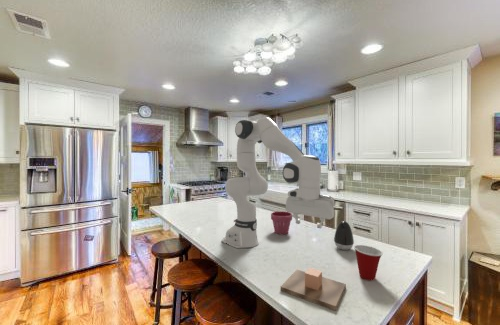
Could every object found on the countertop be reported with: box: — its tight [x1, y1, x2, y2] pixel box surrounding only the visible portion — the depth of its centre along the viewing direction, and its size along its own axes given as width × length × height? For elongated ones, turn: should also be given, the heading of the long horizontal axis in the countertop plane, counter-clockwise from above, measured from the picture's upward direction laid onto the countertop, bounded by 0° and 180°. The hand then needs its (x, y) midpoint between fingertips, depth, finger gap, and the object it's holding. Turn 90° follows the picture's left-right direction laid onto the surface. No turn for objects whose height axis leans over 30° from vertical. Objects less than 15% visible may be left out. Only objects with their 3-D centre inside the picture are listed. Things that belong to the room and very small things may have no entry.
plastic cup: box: [353, 244, 384, 281], centre depth 95 cm, size 11×11×12 cm
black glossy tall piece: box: [333, 220, 355, 251], centre depth 126 cm, size 10×10×15 cm
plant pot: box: [270, 210, 293, 235], centre depth 153 cm, size 14×14×13 cm
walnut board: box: [280, 269, 347, 312], centre depth 86 cm, size 20×16×2 cm
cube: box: [304, 267, 323, 290], centre depth 86 cm, size 5×5×5 cm
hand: (308, 225), depth 96 cm, fingers open, 8 cm apart
